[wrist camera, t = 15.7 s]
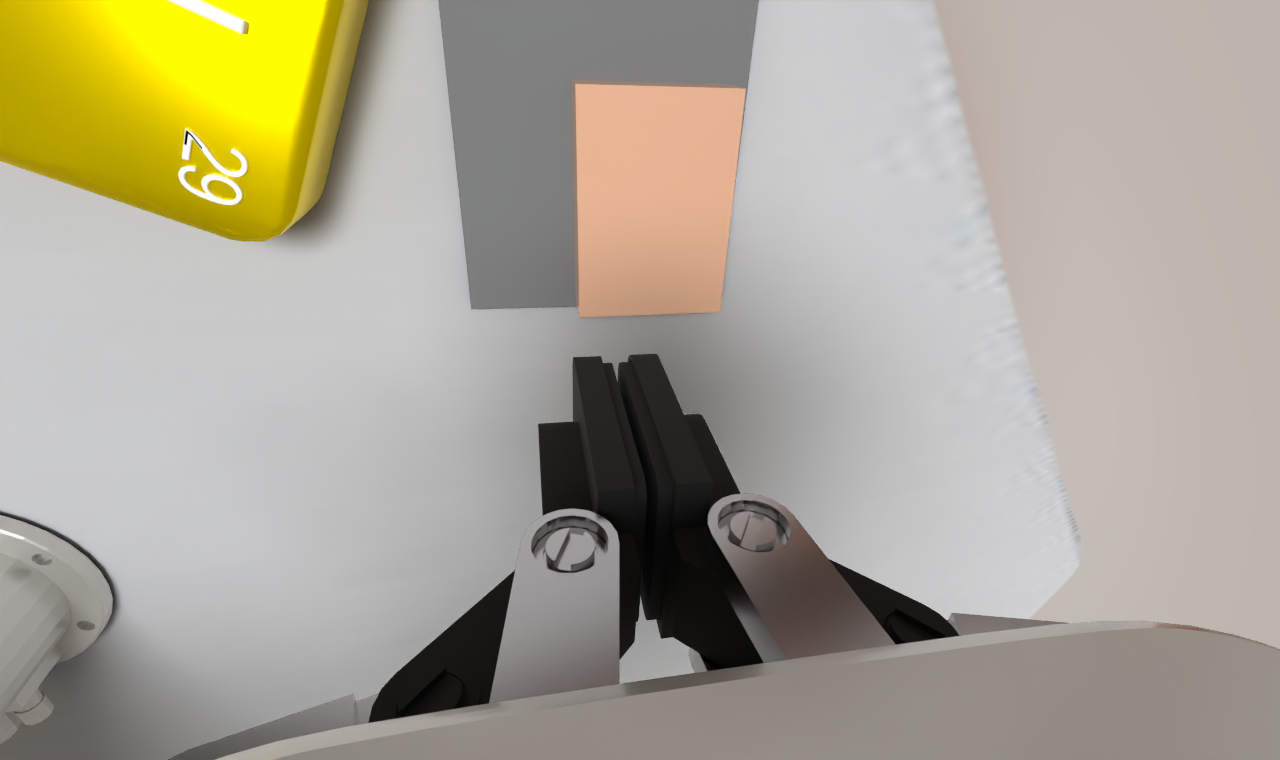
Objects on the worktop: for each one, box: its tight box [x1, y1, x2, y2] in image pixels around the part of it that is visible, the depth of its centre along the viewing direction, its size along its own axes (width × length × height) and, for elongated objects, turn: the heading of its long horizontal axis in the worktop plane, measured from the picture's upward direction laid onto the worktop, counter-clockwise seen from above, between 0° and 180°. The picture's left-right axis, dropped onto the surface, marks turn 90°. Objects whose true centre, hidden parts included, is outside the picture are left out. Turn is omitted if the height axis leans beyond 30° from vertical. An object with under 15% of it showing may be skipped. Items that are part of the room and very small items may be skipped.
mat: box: [439, 0, 758, 309], centre depth 26 cm, size 17×13×1 cm
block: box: [571, 80, 746, 318], centre depth 27 cm, size 10×2×7 cm
